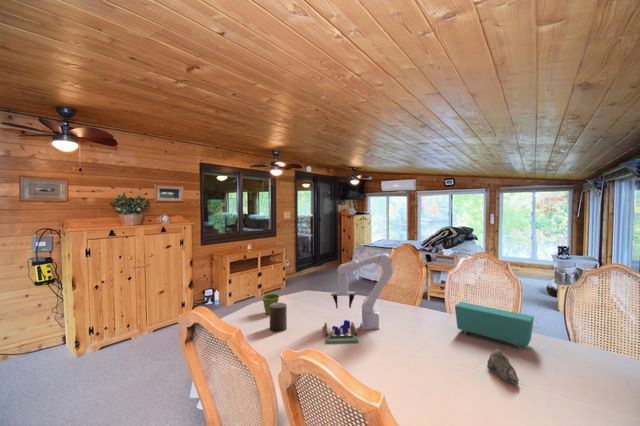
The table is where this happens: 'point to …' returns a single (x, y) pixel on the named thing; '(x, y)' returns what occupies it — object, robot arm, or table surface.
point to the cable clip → (343, 327)
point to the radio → (495, 323)
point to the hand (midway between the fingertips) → (343, 307)
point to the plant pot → (269, 301)
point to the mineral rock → (502, 366)
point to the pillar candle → (278, 317)
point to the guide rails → (351, 326)
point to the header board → (342, 338)
